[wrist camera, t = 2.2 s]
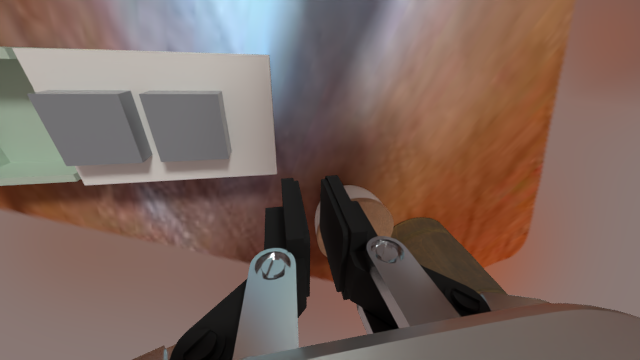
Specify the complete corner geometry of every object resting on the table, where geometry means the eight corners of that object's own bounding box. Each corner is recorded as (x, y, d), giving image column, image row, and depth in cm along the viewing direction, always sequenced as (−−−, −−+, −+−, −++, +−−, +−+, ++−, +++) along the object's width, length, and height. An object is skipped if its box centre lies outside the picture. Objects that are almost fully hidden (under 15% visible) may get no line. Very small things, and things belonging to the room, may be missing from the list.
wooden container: (367, 275, 48) (430, 419, 29) (383, 217, 41) (480, 358, 22) (430, 269, 51) (523, 396, 32) (455, 215, 44) (592, 337, 25)
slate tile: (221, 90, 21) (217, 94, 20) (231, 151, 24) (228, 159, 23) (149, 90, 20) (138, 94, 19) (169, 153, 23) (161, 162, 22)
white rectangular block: (269, 54, 26) (268, 55, 21) (275, 154, 32) (277, 174, 27) (70, 48, 23) (11, 47, 17) (118, 161, 28) (84, 185, 23)
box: (64, 48, 23) (-11, 47, 16) (114, 161, 28) (71, 190, 22) (-66, 44, 21) (-204, 41, 15) (14, 165, 27) (-61, 199, 20)
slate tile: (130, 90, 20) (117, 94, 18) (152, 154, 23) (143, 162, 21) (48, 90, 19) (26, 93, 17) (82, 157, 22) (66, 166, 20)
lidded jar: (308, 231, 39) (318, 277, 31) (309, 175, 34) (321, 213, 26) (368, 225, 41) (391, 267, 33) (377, 171, 36) (407, 205, 28)
